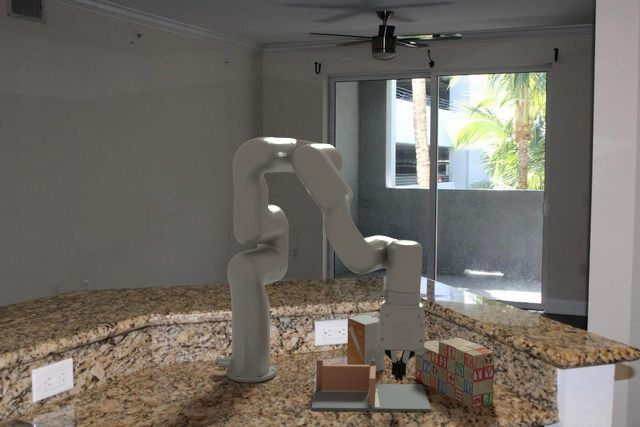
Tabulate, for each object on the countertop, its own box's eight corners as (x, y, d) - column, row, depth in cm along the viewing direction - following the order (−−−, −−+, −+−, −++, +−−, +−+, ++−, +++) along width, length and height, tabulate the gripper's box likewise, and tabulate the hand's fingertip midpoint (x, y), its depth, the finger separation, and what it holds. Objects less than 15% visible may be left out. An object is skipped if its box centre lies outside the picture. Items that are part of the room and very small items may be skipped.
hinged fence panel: (370, 389, 153) (370, 359, 153) (375, 389, 153) (376, 359, 152) (369, 406, 143) (369, 374, 142) (374, 406, 143) (375, 374, 142)
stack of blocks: (414, 379, 162) (415, 331, 161) (434, 375, 165) (435, 327, 164) (472, 409, 143) (473, 354, 142) (493, 404, 146) (495, 350, 145)
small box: (346, 365, 172) (346, 317, 171) (366, 361, 176) (366, 314, 174) (364, 374, 165) (364, 324, 164) (384, 370, 169) (385, 320, 168)
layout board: (311, 410, 143) (311, 407, 142) (313, 385, 157) (313, 383, 157) (431, 411, 142) (431, 408, 142) (422, 386, 157) (422, 384, 157)
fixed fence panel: (316, 391, 152) (316, 361, 151) (316, 388, 154) (316, 359, 153) (369, 391, 152) (369, 361, 151) (368, 389, 153) (368, 359, 153)
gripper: (368, 299, 139) (365, 383, 141) (439, 303, 139) (434, 386, 141) (367, 291, 147) (363, 370, 149) (434, 294, 146) (429, 373, 148)
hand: (398, 378), depth 145 cm, fingers closed
